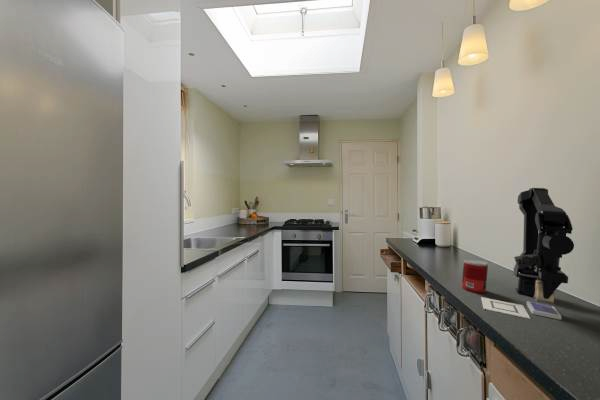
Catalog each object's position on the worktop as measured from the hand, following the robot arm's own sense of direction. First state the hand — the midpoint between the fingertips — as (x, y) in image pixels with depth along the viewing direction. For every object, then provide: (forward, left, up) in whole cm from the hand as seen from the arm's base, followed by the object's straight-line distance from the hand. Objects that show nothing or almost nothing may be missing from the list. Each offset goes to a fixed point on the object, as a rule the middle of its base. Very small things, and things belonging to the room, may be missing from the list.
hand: (544, 296), depth 94 cm
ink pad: (0, 0, -5) cm, 5 cm away
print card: (+4, -11, -5) cm, 13 cm away
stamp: (0, 0, -2) cm, 2 cm away
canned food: (-11, -19, -5) cm, 23 cm away
